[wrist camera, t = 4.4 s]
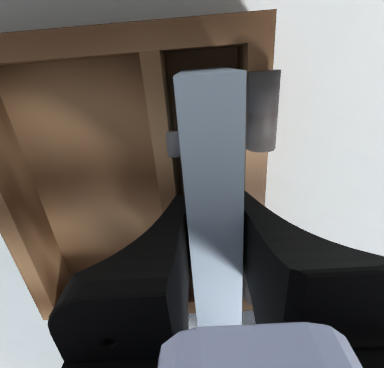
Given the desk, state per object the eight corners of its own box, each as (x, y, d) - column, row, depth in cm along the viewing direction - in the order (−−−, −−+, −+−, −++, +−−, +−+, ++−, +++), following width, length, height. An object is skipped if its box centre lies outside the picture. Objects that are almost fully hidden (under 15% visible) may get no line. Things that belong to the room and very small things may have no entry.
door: (226, 257, 17) (241, 345, 12) (188, 259, 18) (186, 347, 12) (222, 66, 12) (246, 70, 7) (169, 71, 12) (151, 77, 7)
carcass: (248, 269, 19) (264, 327, 15) (67, 278, 20) (33, 338, 15) (257, 22, 12) (291, 1, 8) (-24, 46, 13) (-131, 38, 8)
